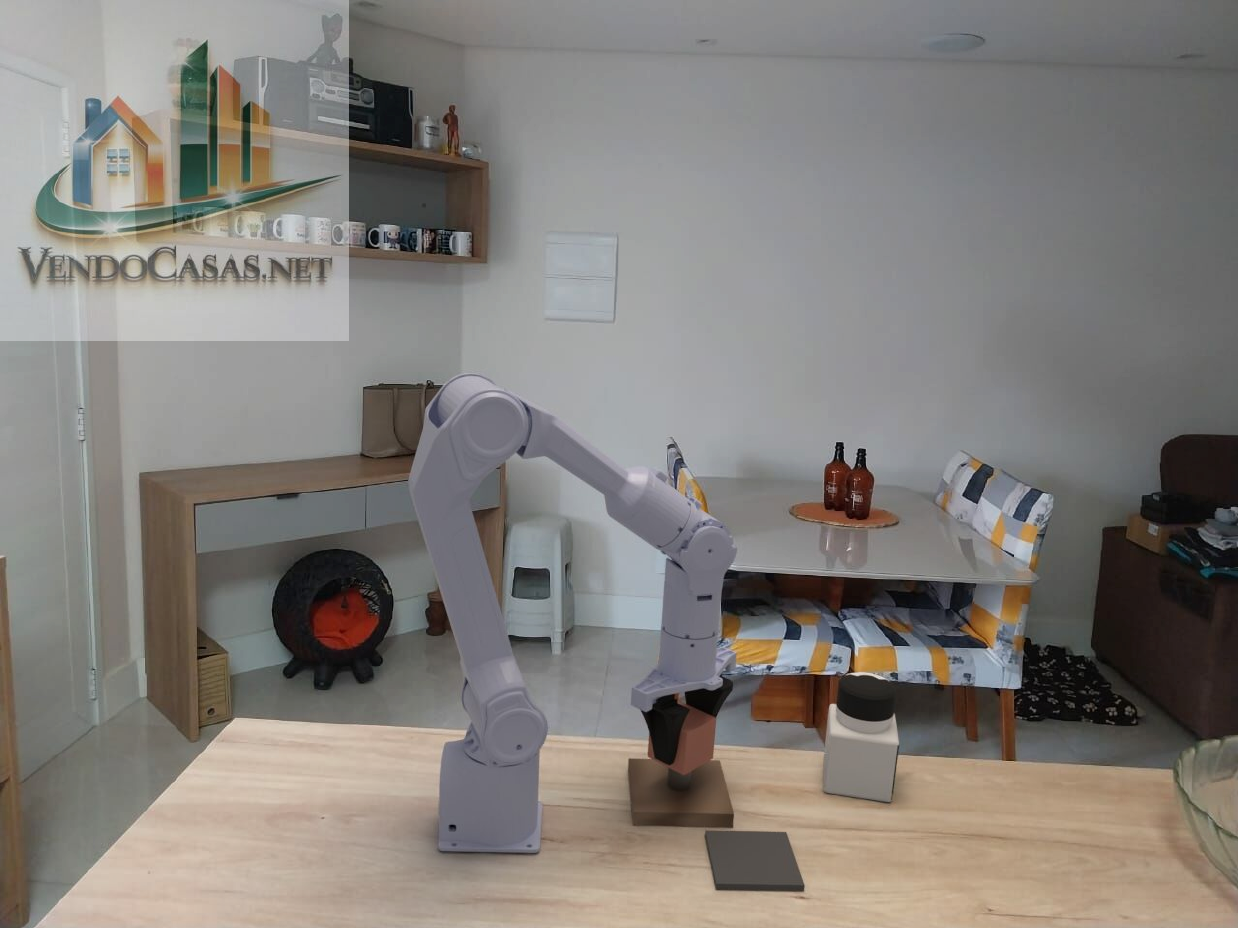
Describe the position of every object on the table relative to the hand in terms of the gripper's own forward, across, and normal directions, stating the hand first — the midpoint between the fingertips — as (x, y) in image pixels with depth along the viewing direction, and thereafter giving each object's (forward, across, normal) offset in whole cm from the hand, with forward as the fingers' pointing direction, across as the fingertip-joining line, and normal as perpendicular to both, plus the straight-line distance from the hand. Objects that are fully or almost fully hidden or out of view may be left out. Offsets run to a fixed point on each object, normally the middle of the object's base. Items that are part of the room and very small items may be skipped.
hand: (680, 751), depth 100 cm
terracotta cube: (+1, 0, 0) cm, 1 cm away
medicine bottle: (+6, +17, -11) cm, 21 cm away
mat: (+5, -3, -12) cm, 13 cm away
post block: (+5, 0, 0) cm, 5 cm away
